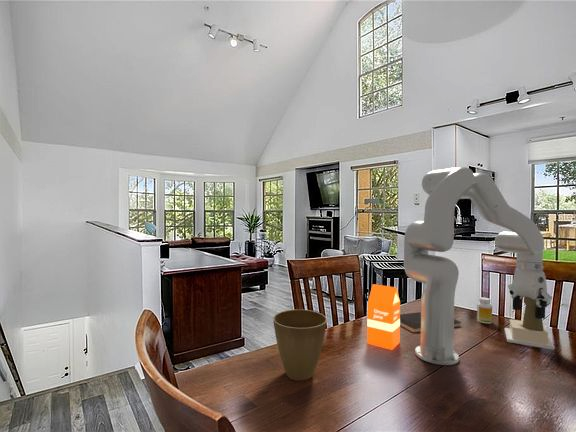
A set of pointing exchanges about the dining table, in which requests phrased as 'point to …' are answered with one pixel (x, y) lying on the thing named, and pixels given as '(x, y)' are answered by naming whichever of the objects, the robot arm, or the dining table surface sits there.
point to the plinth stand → (527, 335)
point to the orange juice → (383, 317)
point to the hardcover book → (416, 321)
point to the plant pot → (299, 341)
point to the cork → (531, 315)
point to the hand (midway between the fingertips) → (528, 313)
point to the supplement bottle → (484, 311)
